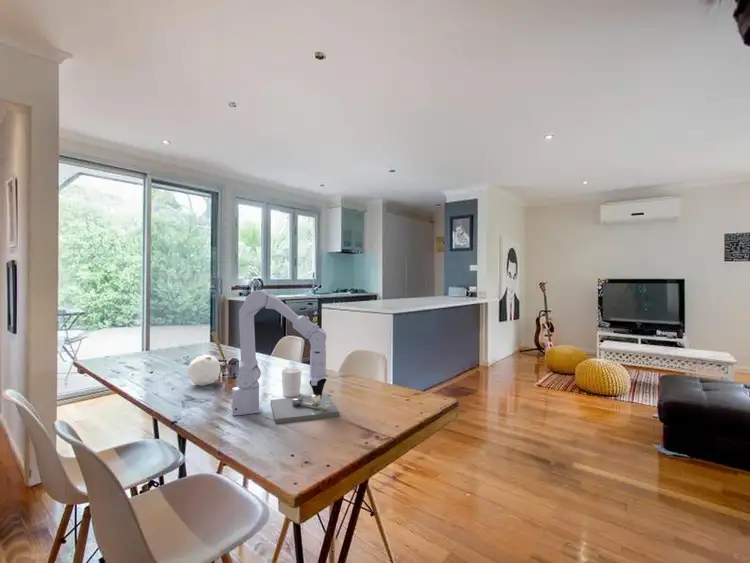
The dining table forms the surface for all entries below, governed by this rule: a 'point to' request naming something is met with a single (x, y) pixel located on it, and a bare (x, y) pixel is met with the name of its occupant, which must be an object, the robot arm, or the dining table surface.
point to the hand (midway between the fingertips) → (317, 399)
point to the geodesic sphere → (204, 370)
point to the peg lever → (315, 403)
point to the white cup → (291, 382)
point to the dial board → (302, 410)
